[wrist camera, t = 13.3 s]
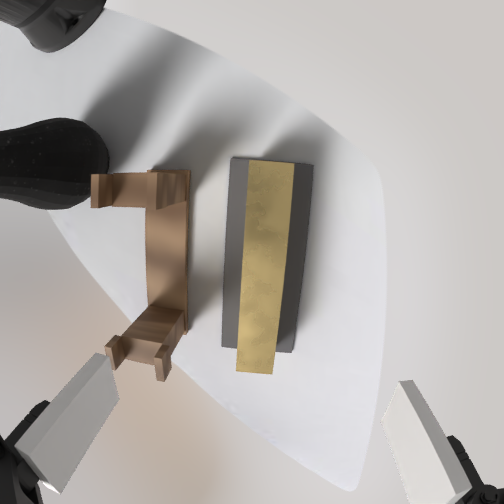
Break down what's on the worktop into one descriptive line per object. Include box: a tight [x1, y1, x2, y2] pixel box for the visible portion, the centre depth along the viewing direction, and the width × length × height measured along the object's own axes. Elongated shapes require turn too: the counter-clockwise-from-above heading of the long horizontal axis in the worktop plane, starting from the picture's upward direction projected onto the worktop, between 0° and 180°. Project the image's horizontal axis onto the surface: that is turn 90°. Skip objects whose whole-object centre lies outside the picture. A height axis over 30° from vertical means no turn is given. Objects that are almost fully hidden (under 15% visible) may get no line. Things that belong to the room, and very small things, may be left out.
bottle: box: [0, 118, 109, 210], centre depth 17 cm, size 11×11×30 cm
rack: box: [91, 170, 191, 382], centre depth 28 cm, size 20×6×11 cm, turn 176°
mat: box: [222, 158, 314, 353], centre depth 33 cm, size 23×9×1 cm, turn 176°
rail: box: [236, 160, 294, 374], centre depth 30 cm, size 22×4×6 cm, turn 176°
